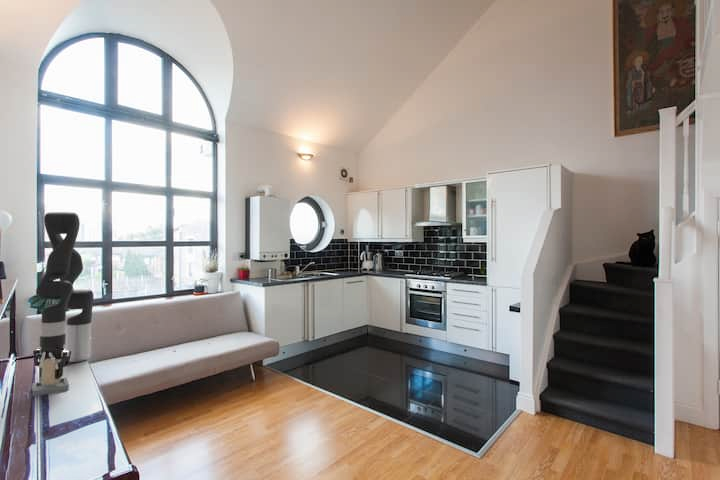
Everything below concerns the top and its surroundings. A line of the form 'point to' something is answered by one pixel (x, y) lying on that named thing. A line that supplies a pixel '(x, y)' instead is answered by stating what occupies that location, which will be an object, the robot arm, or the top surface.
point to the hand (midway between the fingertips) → (51, 377)
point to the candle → (48, 373)
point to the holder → (50, 387)
